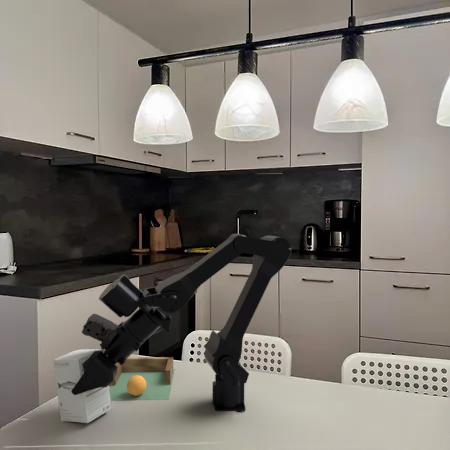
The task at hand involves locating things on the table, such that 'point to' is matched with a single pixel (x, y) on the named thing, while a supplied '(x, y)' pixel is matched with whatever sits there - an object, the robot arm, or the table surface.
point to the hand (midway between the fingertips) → (80, 383)
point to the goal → (146, 367)
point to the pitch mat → (152, 392)
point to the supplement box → (84, 402)
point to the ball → (136, 385)
